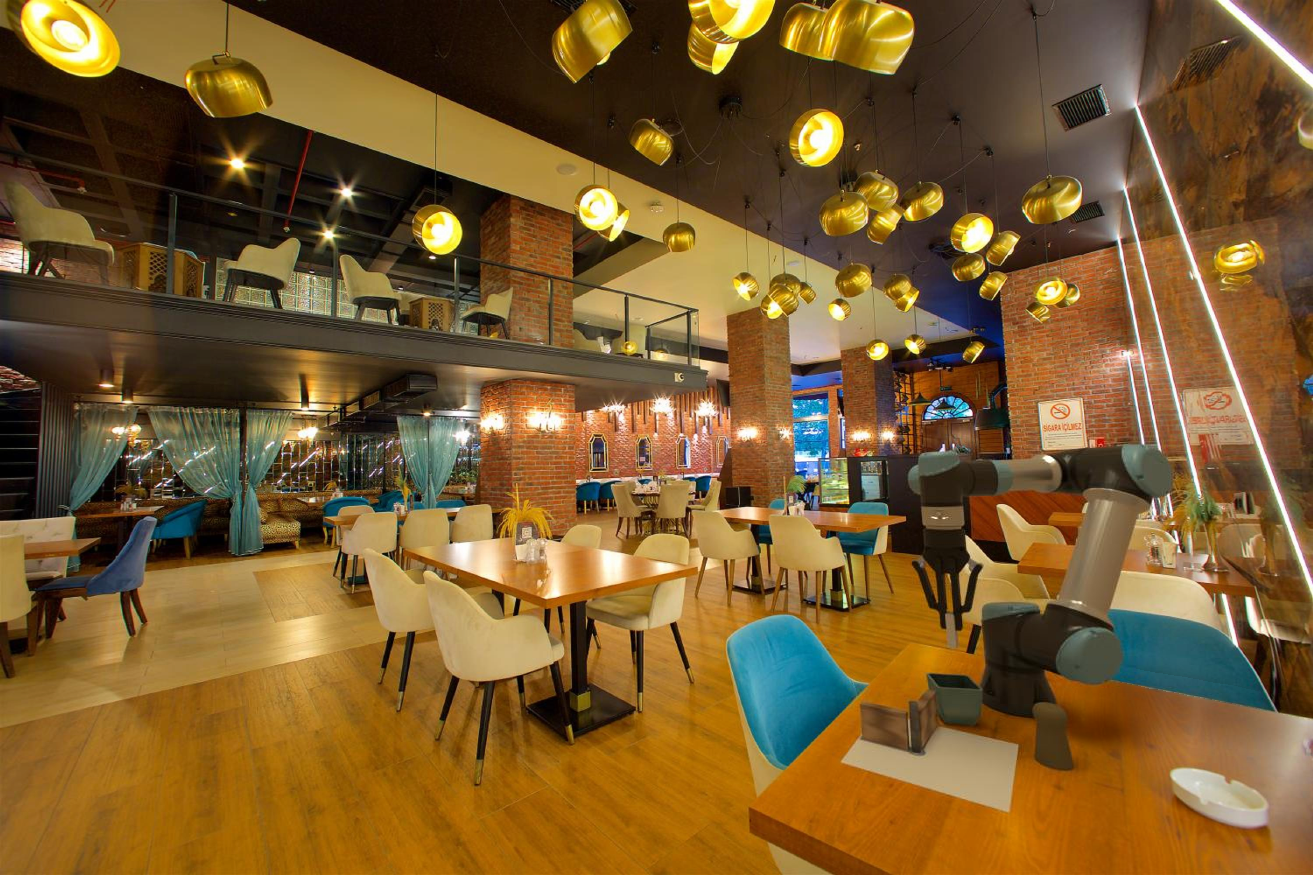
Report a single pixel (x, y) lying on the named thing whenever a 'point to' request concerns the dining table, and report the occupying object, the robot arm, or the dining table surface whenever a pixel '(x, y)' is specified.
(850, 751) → the card
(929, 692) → the fence panel
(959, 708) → the flower pot
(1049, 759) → the cork
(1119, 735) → the dining table surface
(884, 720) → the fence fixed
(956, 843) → the dining table surface
